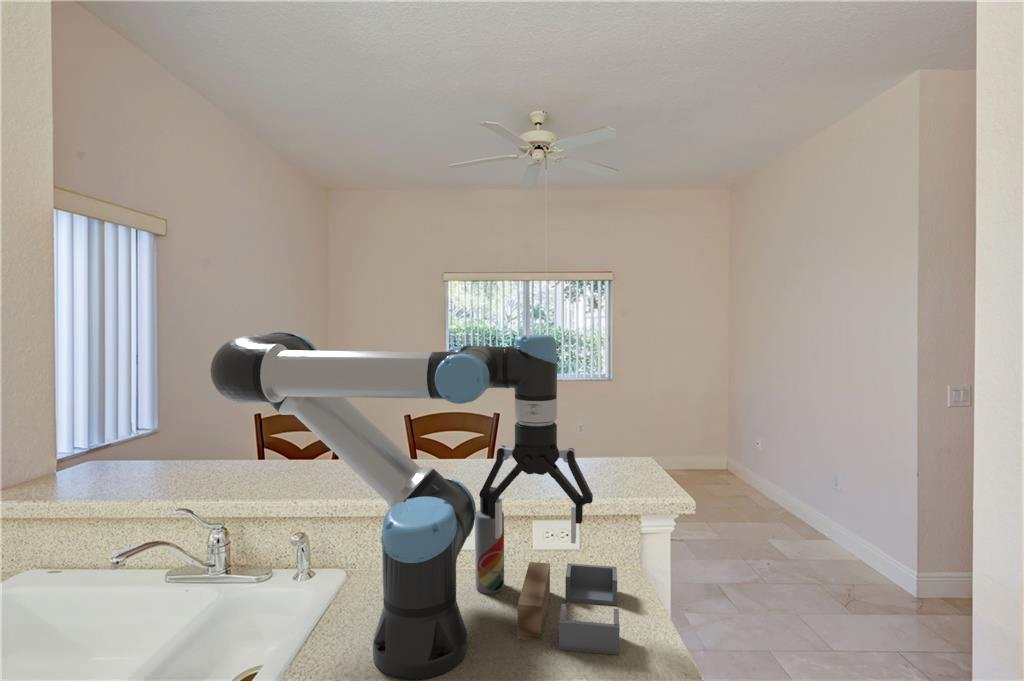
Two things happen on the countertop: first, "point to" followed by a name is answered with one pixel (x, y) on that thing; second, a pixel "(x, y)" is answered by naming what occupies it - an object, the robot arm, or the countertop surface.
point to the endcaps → (596, 589)
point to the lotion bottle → (488, 551)
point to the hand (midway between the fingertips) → (535, 538)
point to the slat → (534, 601)
